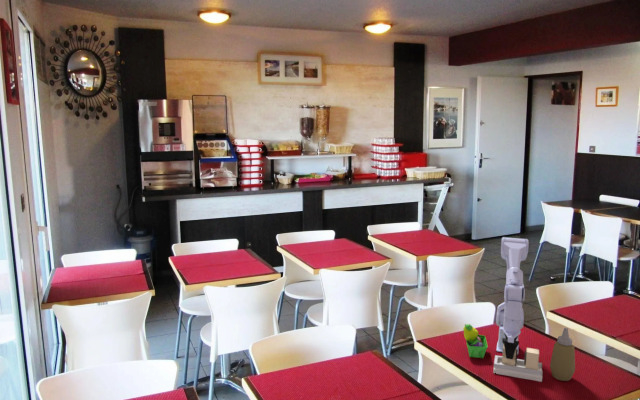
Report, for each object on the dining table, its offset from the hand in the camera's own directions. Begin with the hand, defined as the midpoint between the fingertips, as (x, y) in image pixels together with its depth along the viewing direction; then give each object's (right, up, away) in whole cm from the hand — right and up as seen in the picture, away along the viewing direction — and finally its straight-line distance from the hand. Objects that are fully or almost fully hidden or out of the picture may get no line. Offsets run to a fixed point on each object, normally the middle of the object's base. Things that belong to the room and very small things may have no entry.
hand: (509, 354), depth 190 cm
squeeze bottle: (+17, -7, -4) cm, 19 cm away
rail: (+3, -6, 0) cm, 7 cm away
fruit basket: (-9, -4, +15) cm, 18 cm away
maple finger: (0, -4, +1) cm, 4 cm away
